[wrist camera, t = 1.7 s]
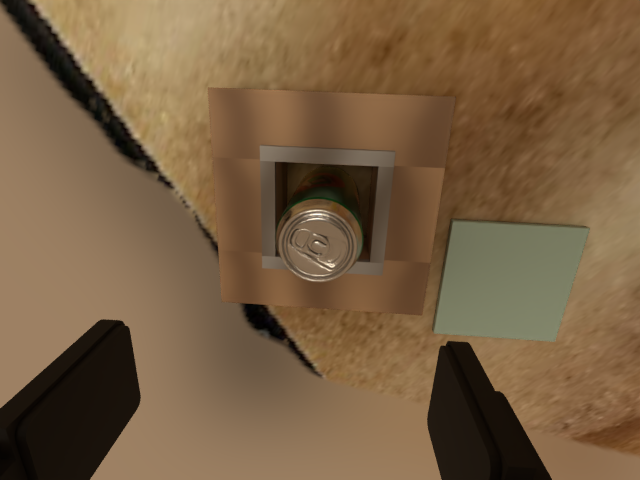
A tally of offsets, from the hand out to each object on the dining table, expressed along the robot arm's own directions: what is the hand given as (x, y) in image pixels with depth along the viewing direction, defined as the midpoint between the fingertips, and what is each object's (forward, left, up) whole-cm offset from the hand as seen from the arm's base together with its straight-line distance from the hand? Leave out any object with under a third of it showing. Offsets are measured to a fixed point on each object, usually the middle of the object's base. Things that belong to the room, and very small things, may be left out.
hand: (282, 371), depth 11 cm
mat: (-16, +7, -22) cm, 28 cm away
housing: (0, 0, -22) cm, 22 cm away
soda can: (0, 0, -22) cm, 22 cm away
